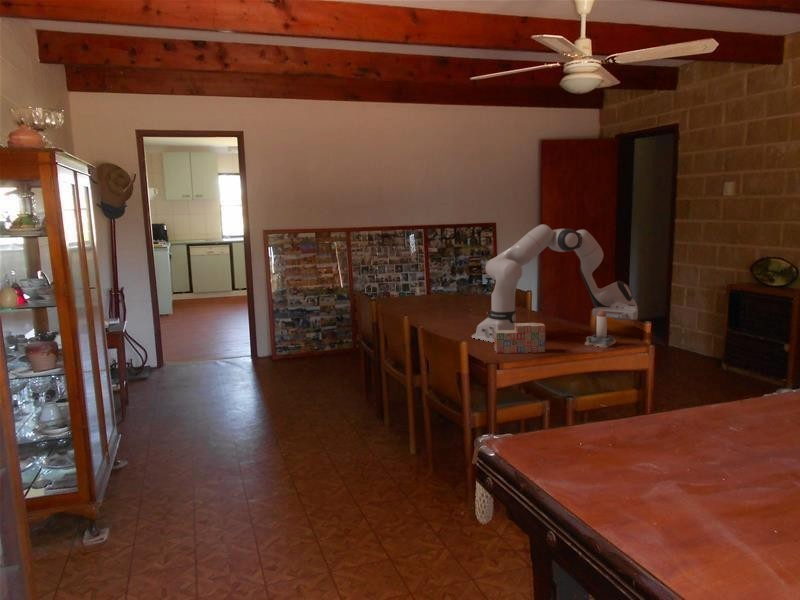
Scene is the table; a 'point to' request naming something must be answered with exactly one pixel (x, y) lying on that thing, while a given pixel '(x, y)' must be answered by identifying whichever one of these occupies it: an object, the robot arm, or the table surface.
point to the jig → (600, 341)
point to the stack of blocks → (521, 339)
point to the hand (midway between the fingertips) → (609, 316)
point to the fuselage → (601, 325)
